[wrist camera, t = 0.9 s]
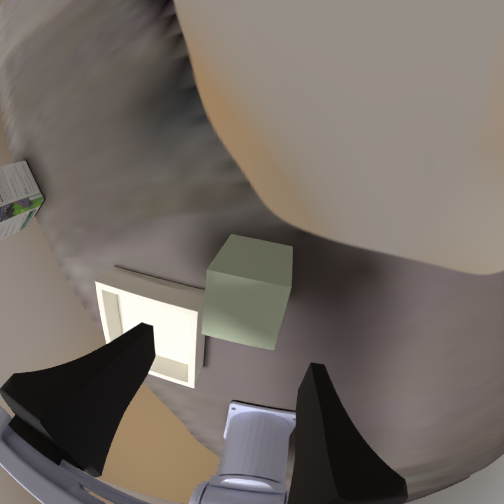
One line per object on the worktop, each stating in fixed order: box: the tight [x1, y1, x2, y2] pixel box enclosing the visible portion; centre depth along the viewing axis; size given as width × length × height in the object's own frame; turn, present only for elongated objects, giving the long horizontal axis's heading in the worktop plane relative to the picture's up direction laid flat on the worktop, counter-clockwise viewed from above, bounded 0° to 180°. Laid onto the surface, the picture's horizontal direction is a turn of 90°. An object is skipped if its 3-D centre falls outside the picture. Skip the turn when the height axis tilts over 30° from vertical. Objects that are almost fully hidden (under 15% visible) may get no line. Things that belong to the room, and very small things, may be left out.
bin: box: [95, 266, 205, 388], centre depth 23 cm, size 9×9×3 cm
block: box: [201, 234, 293, 350], centre depth 18 cm, size 4×4×6 cm
